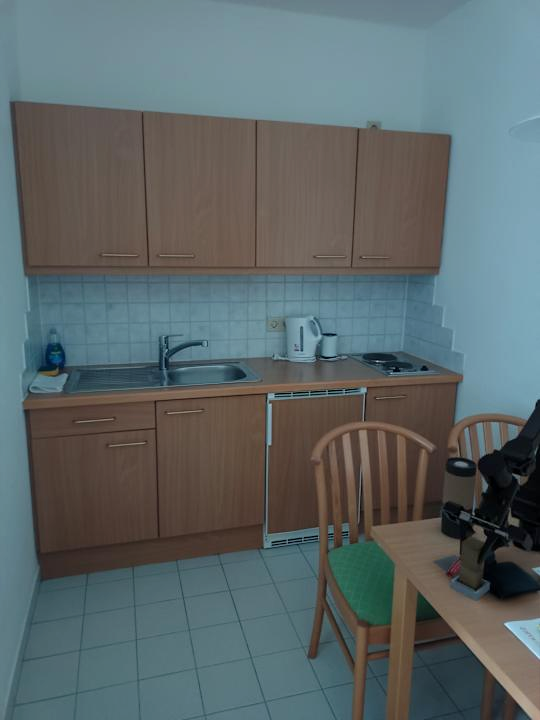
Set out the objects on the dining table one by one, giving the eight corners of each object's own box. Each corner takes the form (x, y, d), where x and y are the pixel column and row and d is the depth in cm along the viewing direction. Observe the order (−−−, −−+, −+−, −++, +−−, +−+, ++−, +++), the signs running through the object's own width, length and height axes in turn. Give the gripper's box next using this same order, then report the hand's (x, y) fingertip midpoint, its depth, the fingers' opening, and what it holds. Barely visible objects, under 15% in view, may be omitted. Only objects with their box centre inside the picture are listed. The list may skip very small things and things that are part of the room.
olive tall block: (466, 581, 118) (470, 536, 116) (481, 588, 115) (486, 543, 113) (457, 587, 116) (461, 542, 113) (473, 595, 113) (478, 549, 111)
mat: (454, 556, 129) (454, 554, 128) (477, 571, 122) (477, 569, 122) (432, 563, 125) (432, 561, 125) (455, 579, 119) (455, 577, 119)
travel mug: (434, 528, 142) (439, 458, 138) (458, 524, 144) (464, 455, 140) (451, 542, 134) (458, 469, 131) (476, 538, 137) (483, 466, 133)
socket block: (463, 578, 120) (464, 569, 119) (489, 590, 115) (490, 581, 115) (450, 588, 116) (450, 579, 115) (475, 602, 111) (476, 593, 111)
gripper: (549, 528, 116) (522, 593, 111) (469, 499, 130) (442, 555, 125) (538, 506, 109) (509, 574, 104) (455, 477, 123) (426, 536, 118)
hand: (469, 559), depth 113 cm, fingers closed on olive tall block, 4 cm apart
